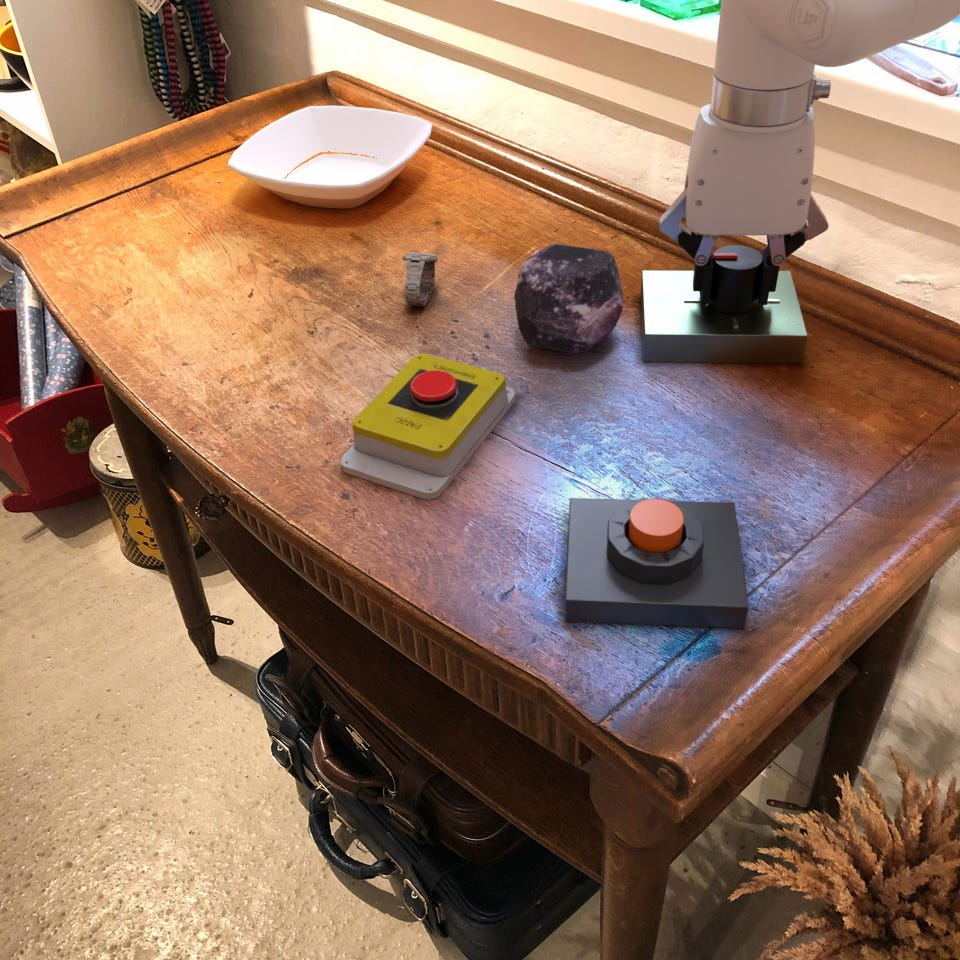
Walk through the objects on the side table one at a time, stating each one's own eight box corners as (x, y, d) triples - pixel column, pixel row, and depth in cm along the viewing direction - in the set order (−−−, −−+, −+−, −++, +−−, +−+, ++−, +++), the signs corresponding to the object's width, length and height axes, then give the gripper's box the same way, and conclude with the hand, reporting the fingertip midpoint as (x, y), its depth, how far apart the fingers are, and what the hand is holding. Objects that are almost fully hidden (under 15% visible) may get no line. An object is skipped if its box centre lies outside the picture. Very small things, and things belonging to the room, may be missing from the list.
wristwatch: (444, 283, 100) (440, 239, 97) (430, 316, 95) (425, 271, 92) (411, 281, 101) (406, 238, 97) (395, 314, 96) (389, 269, 93)
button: (680, 517, 68) (682, 499, 67) (683, 554, 65) (685, 536, 64) (628, 515, 68) (629, 497, 67) (629, 552, 66) (630, 534, 64)
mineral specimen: (584, 277, 96) (607, 207, 87) (624, 363, 92) (653, 299, 83) (492, 297, 93) (506, 227, 84) (529, 386, 89) (547, 323, 80)
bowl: (456, 159, 122) (453, 118, 118) (371, 239, 108) (365, 195, 104) (310, 138, 129) (303, 98, 126) (213, 210, 115) (202, 168, 112)
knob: (753, 288, 90) (760, 241, 87) (758, 314, 87) (766, 266, 84) (705, 288, 91) (710, 241, 88) (709, 313, 88) (714, 266, 84)
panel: (785, 297, 94) (790, 269, 92) (802, 363, 86) (808, 334, 84) (640, 297, 96) (642, 268, 94) (643, 361, 88) (645, 332, 86)
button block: (731, 523, 72) (737, 484, 69) (744, 628, 65) (752, 589, 62) (569, 518, 74) (570, 479, 71) (565, 621, 66) (565, 582, 63)
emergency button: (518, 354, 82) (429, 460, 73) (519, 395, 85) (434, 502, 76) (424, 330, 86) (327, 428, 76) (428, 370, 89) (336, 469, 79)
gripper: (861, 77, 78) (820, 276, 91) (650, 81, 80) (638, 275, 92) (880, 114, 73) (834, 320, 85) (652, 117, 75) (639, 319, 87)
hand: (732, 295), depth 89 cm, fingers closed on knob, 4 cm apart
